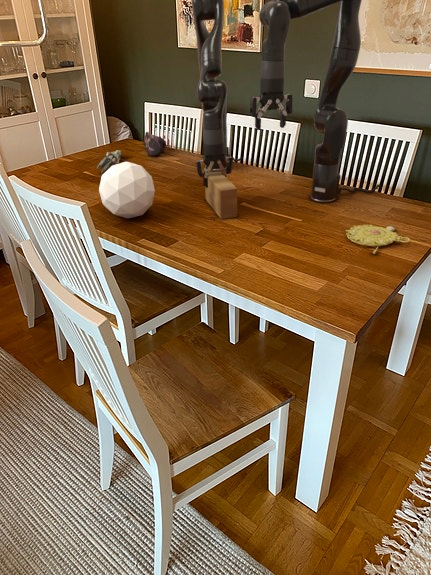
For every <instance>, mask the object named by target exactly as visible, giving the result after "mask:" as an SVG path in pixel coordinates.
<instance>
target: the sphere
mask: <svg viewBox="0 0 431 575" xmlns="http://www.w3.org/2000/svg"><path fill="white" fill-rule="evenodd" d="M98 192H99V196H100V199H101V203H102V205H103V206H104V207H105V208H106V210H108V211H109V212H111V213H112V215H114V216H117V217H121V218H125V219H128V220H129V219H132V218H136V217H140V216H143V215H144V214H145V213H146V212H147V211H148V210H149V209H150V208H151V207H152V206H153V203H154V198H155V192H156V190H155V186H154V181H153V176H152V175H151V174H150V173H149V172H148V171H147V170H146V169H145V168H144V166H142V165H140V164H137V163H134V162H130V161H127V160H126V161H123V162H119V163H118V164H112V165H111V166H110V167H109V168H108V169H107V170H106V171H104V173H102V174H101V178H100V183H99V188H98Z"/></svg>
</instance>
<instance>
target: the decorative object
mask: <svg viewBox="0 0 431 575" xmlns="http://www.w3.org/2000/svg"><path fill="white" fill-rule="evenodd" d="M395 230H396V228H395V227H394V226H390V225H389V226H386V227H381V226H377V225H374V224H371V223H370V224H362V225H360V224H358V225H353V227H350V228H349V229H345V232H346V233H345V235H346V236H347V239H348V240H349V241H350V242H353V243H355V244H357V245H361V246H366V247H376V248H375V249H374V250H373V252H372V254H373V255H375V254H376V253H377V252H378V251H377V250H378V249H379V247H383V246H387V245H389V244H392V243H393V242H397V243H404V244H407V243H410V242H411V238H409V237H408V236H401V235H400V236H399V234H398V232H396V231H395ZM403 239H406V240H403Z"/></svg>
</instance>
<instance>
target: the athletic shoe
mask: <svg viewBox="0 0 431 575" xmlns="http://www.w3.org/2000/svg"><path fill="white" fill-rule="evenodd" d="M143 146H144V147H145V149H146V150H145V152H146V153H147V155H148V156H151V157H152V156H154V157H155V156H159V155H160V154H162V152H164V150H165V148H167V147H170V145H169V144H167V140H165V139H164V138H162V137H160V136H158V135H154V134H152V133H150V132H149V131H146V132H145V134H144V139H143Z"/></svg>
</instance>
